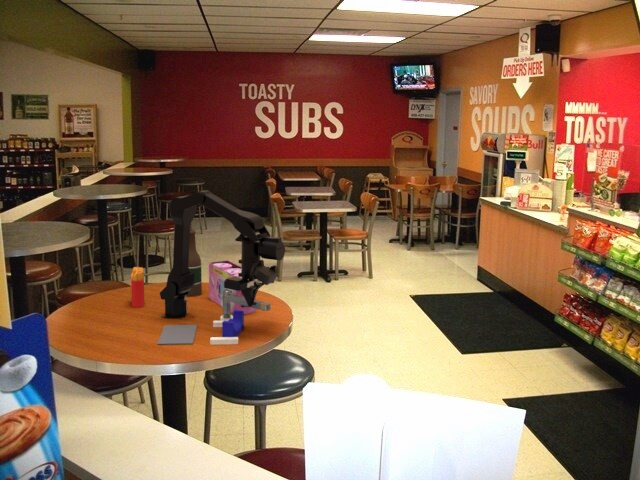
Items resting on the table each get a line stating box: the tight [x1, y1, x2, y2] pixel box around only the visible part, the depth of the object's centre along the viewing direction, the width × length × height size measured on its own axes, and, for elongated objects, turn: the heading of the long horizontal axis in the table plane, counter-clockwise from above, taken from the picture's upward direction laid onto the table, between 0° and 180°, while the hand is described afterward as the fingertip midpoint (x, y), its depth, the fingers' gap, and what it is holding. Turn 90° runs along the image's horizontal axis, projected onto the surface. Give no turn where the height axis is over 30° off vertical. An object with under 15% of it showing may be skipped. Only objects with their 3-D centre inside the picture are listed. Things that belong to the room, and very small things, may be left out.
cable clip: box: [221, 310, 245, 337], centre depth 183 cm, size 12×4×6 cm, turn 171°
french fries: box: [130, 266, 145, 308], centre depth 209 cm, size 9×4×13 cm, turn 19°
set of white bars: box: [209, 314, 239, 346], centre depth 187 cm, size 8×24×2 cm, turn 7°
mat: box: [156, 324, 198, 346], centre depth 182 cm, size 10×16×1 cm, turn 7°
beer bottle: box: [185, 229, 203, 297], centre depth 223 cm, size 8×8×24 cm
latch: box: [222, 290, 272, 318], centre depth 191 cm, size 3×19×9 cm, turn 54°
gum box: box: [208, 260, 257, 315], centre depth 211 cm, size 24×8×14 cm, turn 33°
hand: (250, 306), depth 187 cm, fingers closed
